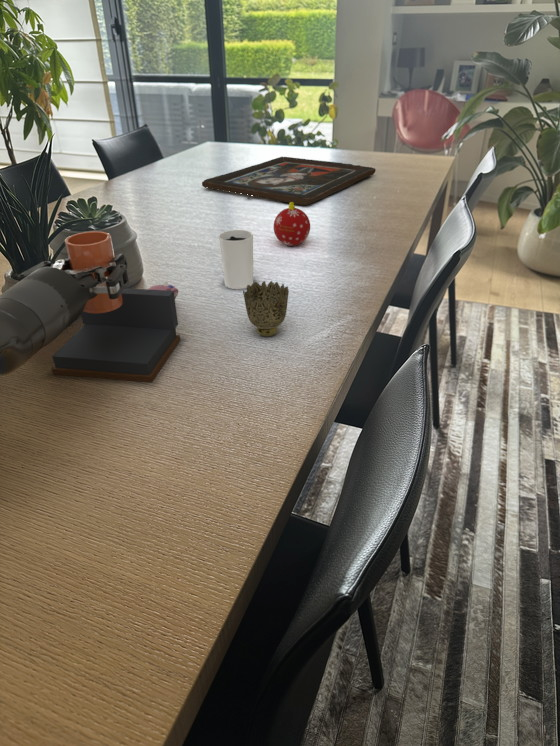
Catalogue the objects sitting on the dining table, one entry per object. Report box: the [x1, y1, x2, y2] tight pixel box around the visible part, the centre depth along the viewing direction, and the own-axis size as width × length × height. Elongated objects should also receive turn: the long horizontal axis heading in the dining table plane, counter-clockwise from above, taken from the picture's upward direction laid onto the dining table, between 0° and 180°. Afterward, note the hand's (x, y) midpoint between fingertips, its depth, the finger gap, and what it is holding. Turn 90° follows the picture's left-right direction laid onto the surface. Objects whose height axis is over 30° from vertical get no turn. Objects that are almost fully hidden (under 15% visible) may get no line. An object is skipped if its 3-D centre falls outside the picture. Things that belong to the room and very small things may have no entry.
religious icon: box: [201, 156, 377, 206], centre depth 179 cm, size 40×45×3 cm
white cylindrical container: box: [218, 229, 254, 290], centre depth 109 cm, size 7×7×10 cm
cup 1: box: [64, 230, 123, 313], centre depth 78 cm, size 6×6×10 cm
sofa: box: [51, 287, 181, 383], centre depth 86 cm, size 16×13×9 cm
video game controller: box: [148, 281, 179, 299], centre depth 99 cm, size 10×5×7 cm, turn 147°
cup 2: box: [242, 280, 290, 337], centre depth 91 cm, size 8×7×8 cm
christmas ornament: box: [273, 202, 311, 247], centre depth 128 cm, size 9×9×10 cm
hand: (101, 259), depth 79 cm, fingers closed on cup 1, 6 cm apart
